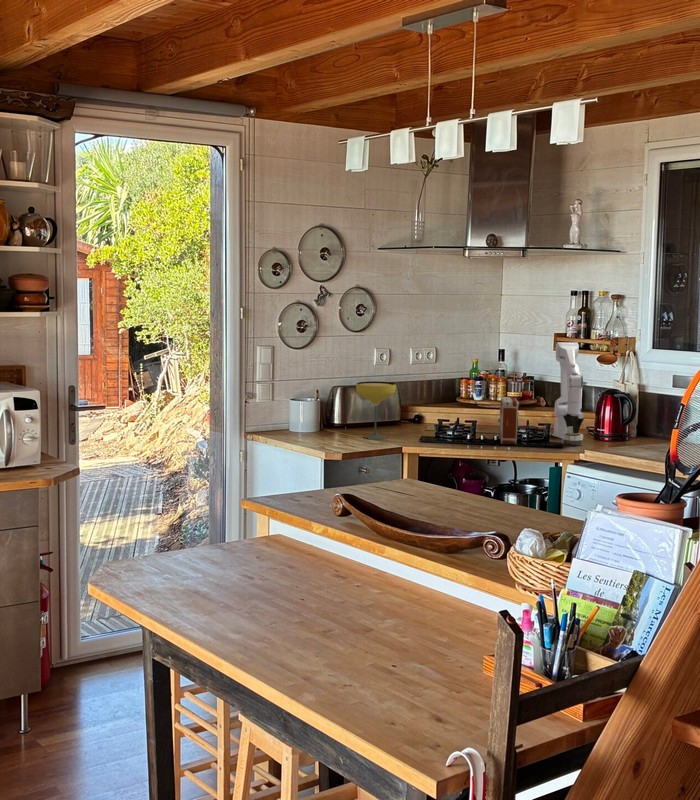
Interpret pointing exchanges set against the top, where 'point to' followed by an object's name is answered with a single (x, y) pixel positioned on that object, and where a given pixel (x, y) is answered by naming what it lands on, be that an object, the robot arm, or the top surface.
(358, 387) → the cocktail glass
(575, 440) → the lens barrel
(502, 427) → the cine camera
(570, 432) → the lens cap
